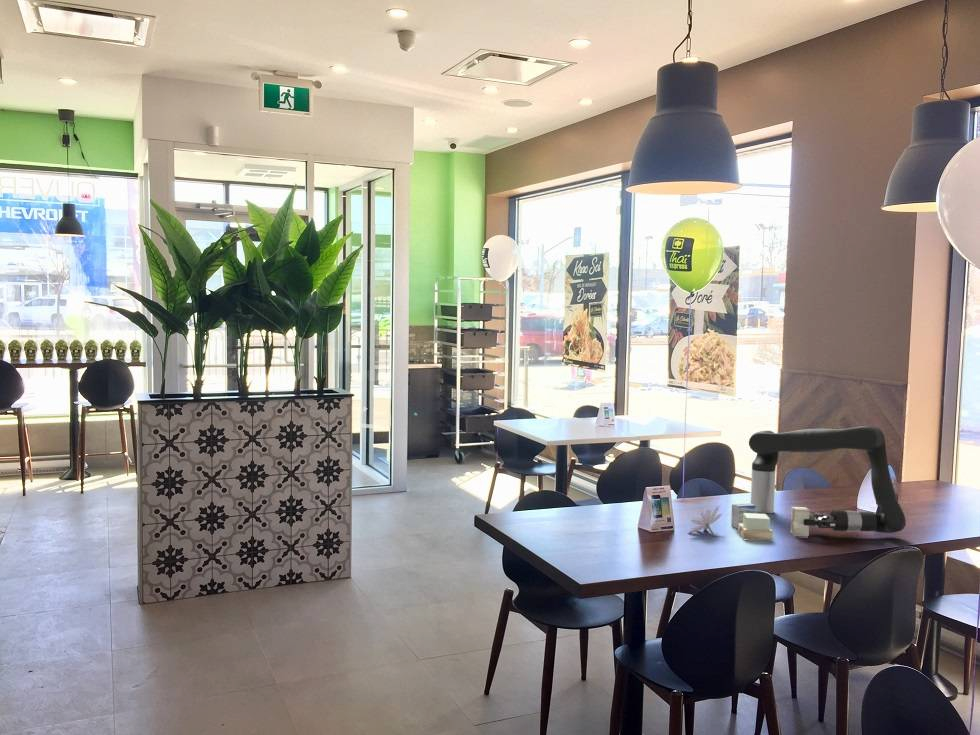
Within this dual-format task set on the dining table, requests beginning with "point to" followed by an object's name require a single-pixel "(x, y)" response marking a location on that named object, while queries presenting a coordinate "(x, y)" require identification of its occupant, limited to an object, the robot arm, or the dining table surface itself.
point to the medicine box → (740, 512)
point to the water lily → (705, 520)
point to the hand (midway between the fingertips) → (800, 519)
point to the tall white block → (799, 521)
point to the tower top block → (756, 521)
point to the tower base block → (754, 533)
